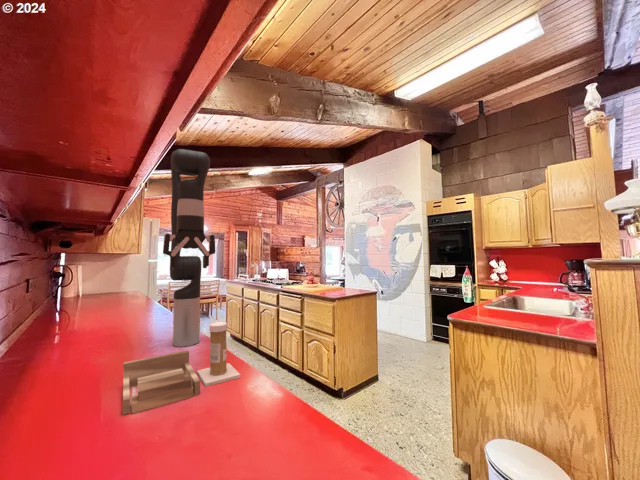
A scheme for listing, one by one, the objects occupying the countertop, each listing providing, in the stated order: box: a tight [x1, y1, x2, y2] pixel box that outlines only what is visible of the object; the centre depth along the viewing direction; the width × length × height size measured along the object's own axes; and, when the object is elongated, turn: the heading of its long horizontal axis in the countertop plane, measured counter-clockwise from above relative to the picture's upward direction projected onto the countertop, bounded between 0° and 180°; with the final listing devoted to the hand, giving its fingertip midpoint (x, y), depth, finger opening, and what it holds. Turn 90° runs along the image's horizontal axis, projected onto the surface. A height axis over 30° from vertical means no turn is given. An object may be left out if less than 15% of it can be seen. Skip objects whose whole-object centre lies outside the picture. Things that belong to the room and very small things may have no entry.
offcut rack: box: [122, 349, 201, 416], centre depth 69 cm, size 16×15×6 cm
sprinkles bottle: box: [209, 321, 228, 375], centre depth 77 cm, size 5×5×14 cm
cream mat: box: [196, 362, 241, 388], centre depth 77 cm, size 10×9×1 cm
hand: (189, 268), depth 84 cm, fingers open, 8 cm apart
